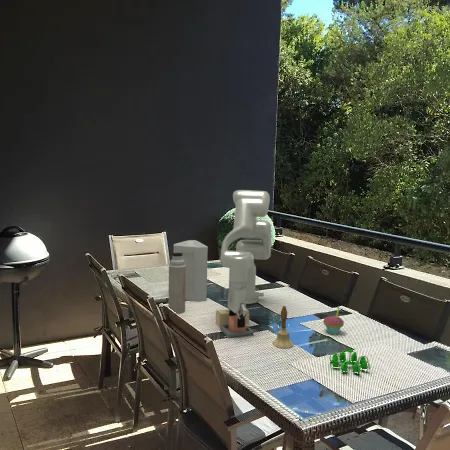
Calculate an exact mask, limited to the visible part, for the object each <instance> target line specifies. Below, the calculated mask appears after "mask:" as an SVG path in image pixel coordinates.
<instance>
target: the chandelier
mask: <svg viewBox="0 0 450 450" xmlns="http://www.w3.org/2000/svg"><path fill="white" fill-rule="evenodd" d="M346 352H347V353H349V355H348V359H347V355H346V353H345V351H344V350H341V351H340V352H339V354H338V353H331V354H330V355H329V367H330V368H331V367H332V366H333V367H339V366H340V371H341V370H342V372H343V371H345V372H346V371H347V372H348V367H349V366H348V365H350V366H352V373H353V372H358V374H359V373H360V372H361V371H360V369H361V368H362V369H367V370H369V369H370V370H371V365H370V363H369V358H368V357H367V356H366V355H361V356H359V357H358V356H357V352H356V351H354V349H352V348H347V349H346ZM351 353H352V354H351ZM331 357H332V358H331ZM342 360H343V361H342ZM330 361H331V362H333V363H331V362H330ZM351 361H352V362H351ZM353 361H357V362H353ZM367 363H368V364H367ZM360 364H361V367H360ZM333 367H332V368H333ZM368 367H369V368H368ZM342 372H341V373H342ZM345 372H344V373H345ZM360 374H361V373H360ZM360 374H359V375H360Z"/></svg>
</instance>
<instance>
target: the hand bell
mask: <svg viewBox="0 0 450 450" xmlns="http://www.w3.org/2000/svg"><path fill="white" fill-rule="evenodd" d="M280 319H281V328H280V329H281V330H278V331H277V337H276V338H275V340H273V341H272V345H273V347H275V348H278V349H284V350H286V349H291V348H293V347H294V343H293V342H292V340H291V338H290V332H289V331H288V330H287V329H286V328H287V326H286V325H287V323H286V321H287V319H288V309H287V306H286V305H283V306H282V307H281V311H280Z"/></svg>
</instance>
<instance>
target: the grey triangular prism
mask: <svg viewBox="0 0 450 450" xmlns="http://www.w3.org/2000/svg"><path fill="white" fill-rule="evenodd" d="M208 251H209V246H207V245H205V244H203V243H202V242H200V241H198V240H195V239H193V240H192V239H190V240H185V241H181V242H177V243H174V244H173V253H182V254H183V255H182V256H183V260H184V262H185V263H184V264H185V265H186V287H185V301H189V302H195V303H200V302H201V303H202V302H207V299H208V298H207V297H208V292H207V290H208V289H207V288H208V256H209V255H208V253H209V252H208Z"/></svg>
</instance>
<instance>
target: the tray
mask: <svg viewBox="0 0 450 450" xmlns="http://www.w3.org/2000/svg"><path fill="white" fill-rule="evenodd" d="M219 330H220V331H221V332H222V333H223V334H224V335H225V336H226V337H227V338H228V339H233V338H243V337H252V336H254V330H253V329H251V328H250V327H249V326H248V324H246V331H244V332H235V333H232V332H231V331H230V330H229V324H226V325H220V327H219Z"/></svg>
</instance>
